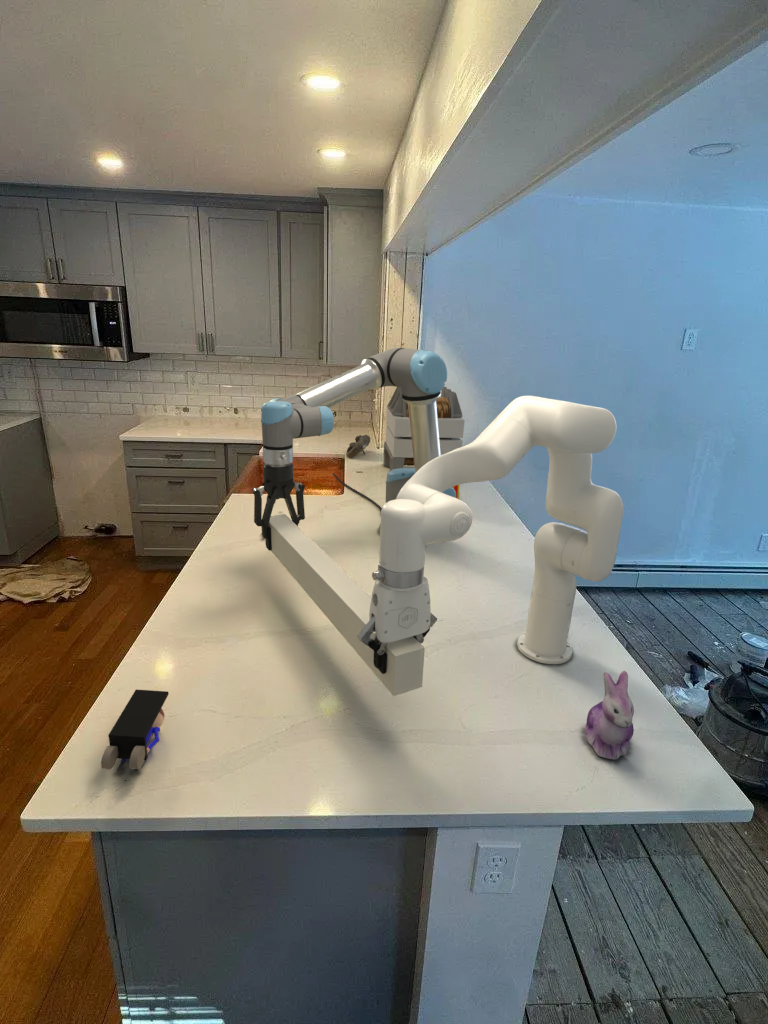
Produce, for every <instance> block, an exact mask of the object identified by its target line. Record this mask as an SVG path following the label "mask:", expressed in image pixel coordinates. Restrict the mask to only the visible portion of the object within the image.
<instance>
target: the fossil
mask: <svg viewBox="0 0 768 1024" xmlns="http://www.w3.org/2000/svg"><path fill="white" fill-rule="evenodd" d="M354 440H355V442H350V443H349V445H348V447H347V449H346V454H345V455H346V457H347V458H350V459H351V458H354V457H357V456H358V455H359V454H361V453H363V454H364V455H366V452H365V449H366V448H367V447H368V446H369V445H370V443H371V437H370V435H368V434H364V435H361V434H359V435H356V436H355V438H354Z"/></svg>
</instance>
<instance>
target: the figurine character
mask: <svg viewBox="0 0 768 1024" xmlns="http://www.w3.org/2000/svg"><path fill="white" fill-rule="evenodd" d="M168 696H169V691H165V690H164V691H163V690H152V689H151V690H149V689H135V690H134V692H133V693H132V695H131V697H130V698H129V700H128V701H127V703H126V705H125V707H124V708H123V710H122V712H121V713H120V715H119V717H117V720H116V722H114V725H113V727H112V728H111V729H110V731H109V733H108V734H107V735H108V736H107V737H108V743H109V745H108V746H106V748H105V749H104V751H103V753H102V756H101V761H100V766H101V769H102V770H112V769H113V768H114V767H115V766H116V763H117V762H118V760H120V761H119V764H118V765H117V767H116V772H117V773H118V774H119V773H121V772H122V771H123V769H124V766H125V764H126V762H127V760H128V761H129V769H131V770H132V769H133V772H134V774H136V773H137V772H139V771H140V769H141V768H142V766H143V764H144V762H145V761H146V762H147V761H148V758H149V757H148V754H149V753H150V751H151V750H152V749H153V748H154V747H155V746H156V744H158V742H160V737H159V732H160V731H161V727H162V725H163V723H164V721H165V712H164V710H163V706H164V704H165V702H166V700H167V698H168ZM152 735H153V736H154V739H153V740H152V741H151V742H150V744H149V741H150V740H151V737H152Z"/></svg>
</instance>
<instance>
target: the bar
mask: <svg viewBox="0 0 768 1024" xmlns="http://www.w3.org/2000/svg"><path fill="white" fill-rule="evenodd" d="M268 525H269V526H270V527H271V541H272V550H270V552H271V553H272V554H273V555H274V556H275V558H276V559H277V560H278V562H280V564H281V565H282V566H283V567H284V568H285V569H286V571H287V572H288V573H289V574H290V576H292V578H293V579H294V580H295V582H297V585H299V586H300V587H301V589H302V590H303V591H304V592H305V593H306V595H307V596H308V597H309V598H310V599H311V601H312V602H313V603H314V604H315V605H316V606H317V607H318V609H319V610H320V611H321V612H322V613H323V615H324V616H325V617H326V618H327V619H328V620H329V622H330V623H331V624H332V625H333V627H334V628H335V629H336V630H337V632H339V634H340V635H341V636H342V637H343V638H344V639H345V641H346V642H347V643H348V644H349V645H350V647H351V648H352V649H353V650H354V651H355V653H357V655H358V656H359V657H360V659H362V661H363V662H364V663H365V664H366V666H368V668H369V669H370V670H371V672H372V673H373V674H374V675H375V676H376V677H377V679H378V680H379V681H380V683H382V684H383V686H384V687H385V688H386V689H387V690H388V691H389V693H390V695H392V696H393V697H395V696H398V695H401V694H404V693H408V692H411V691H414V690H416V689H419V688H422V687H423V677H424V663H425V651H426V650H425V649H426V647H425V646H424V645H423V643H419V642H418V641H417V640H416V639H415V638H414V637H413V636H412V637H408V638H405V639H401V640H397V641H394V642H390V643H388V644H387V647H386V649H385V653H386V654H387V671H386V673H385V674H382V673H381V672H380V671H379V670H378V668H376V667H375V666H374V663H373V660H374V650H372V649H371V648H370V647H369V646H367V645H365V644H364V643H362V642H361V641H360V640H359V639H358V637H357V636H358V634H359V633H360V632H361V630H362V629H363V628H364V627H365V625H366V624H367V623H368V622H369V612H370V603H371V597H372V595H370V594H369V593H368V592H367V591H366V590H365V589H364V588H363V586H361V585H360V584H359V583H358V582H357V581H356V580H355V579H354V578H353V577H351V576H350V575H349V573H347V571H345V569H343V568H342V567H341V566H340V565H339V564H338V563H337V562H336V561H335V560H334V559H333V558H332V557H331V556H330V555H328V553H327V552H326V551H324V550H323V549H322V548H321V547H320V546H319V544H318V543H316V542H315V541H314V540H313V539H311V537H310V536H309V535H308V534H307V533H305V531H303V530H302V529H301V528H300V527H299V525H298V526H297V525H296V524H295V523H294V522H293V521H292V519H291V517H289V516H288V515H287V514H286V513H283V514H282V513H281V514H275V515H271V517H270V521H269V524H268ZM264 541H265V542H264V543H265V545H266V538H265V539H264ZM375 633H376V632H373V633H372V634H371V635H370V638H372V639H373V638H374V635H375ZM379 644H380V642H379Z"/></svg>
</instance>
